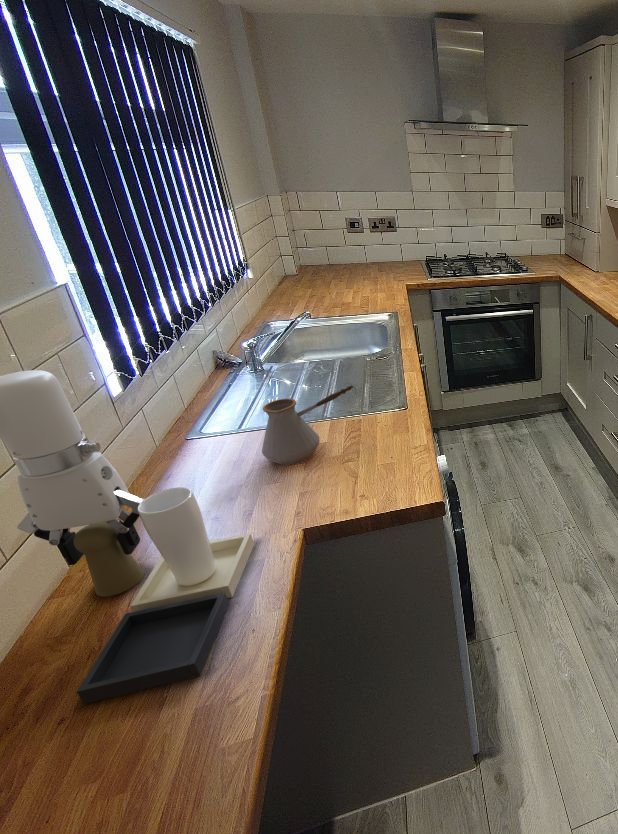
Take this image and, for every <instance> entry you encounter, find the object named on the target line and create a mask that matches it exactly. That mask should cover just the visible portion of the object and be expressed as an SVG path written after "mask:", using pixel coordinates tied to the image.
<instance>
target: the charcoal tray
mask: <svg viewBox="0 0 618 834" xmlns="http://www.w3.org/2000/svg"><path fill="white" fill-rule="evenodd" d="M229 607H230V602H229V598H227V596H226V594H225V593H221V594H216V595H211V596H207V597H202V598H197V599H192V600H188V601H183V602H178V603H173V604H169V605H164V606H159V607H155V608H150V609H145V610H140V611H136V612H133V611H131V612H127V613H125V614H124V615H123V617H122V618H121V620H120V622H119V623H118V624H117V626H116V627H115V629H114V631H113V632H112V635H111V636H110V637H109V638H108V640H107V642H106V644H105V645H104V647H103V649H102V650H101V652H100V653H99V655H98V656H97V658H96V660H95V661H94V663H93V665H92V666H91V668H90V669H89V671H88V672H87V674H86V676H85V678H84V679H83V681H81V683H80V685H79V687H78V689H77V690H76V694H77V695H78V697H79V699H80V700H81V702H82V703H83V705H88V704H92V703H96V702H100V701H104V700H108V699H112V698H116V697H120V696H124V695H128V694H132V693H136V692H141V691H144V690H149V689H153V688H156V687H161V686H164V685H169V684H173V683H176V682H181V681H186V680H189V679H193V678H198V677H200V676H201V675H202V673H203V670H204V667H205V666H206V663H207V660H208V658H209V655H210V653H211V651H212V648H213V646H214V643H215V641H216V639H217V636H218V634H219V632H220V629H221V626H222V624H223V622H224V618H225V617H226V614H227V612H228V609H229Z"/></svg>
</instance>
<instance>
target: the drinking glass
mask: <svg viewBox="0 0 618 834" xmlns="http://www.w3.org/2000/svg"><path fill="white" fill-rule="evenodd" d="M144 499H145V500H143V501H142V502H141V503H140V504H139V506H138V512H139V515H140V516H139V518H140V520H141V523H142V525H143V527H144V529H145V531H146V533H147V535H148V536H149V538H150V540H151V541H152V543H153V544H154V546H155V547H156V549H157V551H158V552H159V554H160V555H161V556H162V557H163V558H164V560H165V562H166V563H167V565H168V566H169V568H170V570H171V571H172V573H173V575H174V577H175V579H176V581H177V583H178V584H180V585H182V586H192V585H196V584H199V583H201V582H203V581H205V580H206V579H208V578H209V577H210V576H212V575H213V573H214V572H215V570H216V567H217V566H216V562H215V559H214V557H213V554H212V550H211V547H210V543H209V541H210V540H209V537H208V532H207V528H206V525H205V521H204V517H203V514H202V511H201V507H200V505H199V502H198V501H197V498H196V496H195V494H194V492H193V490H192V489H190V488H189V487H185V486H177V487H170V488H167V489H163V490H160V491H157V492H155V493H153V494H151V495H149V496H147V497H146V498H144Z"/></svg>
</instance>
